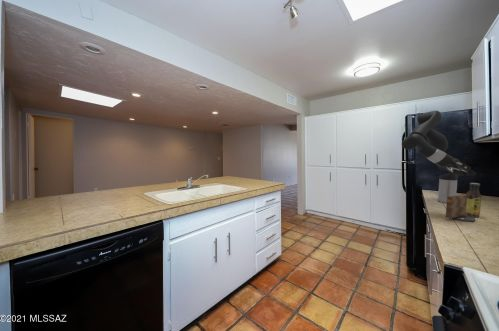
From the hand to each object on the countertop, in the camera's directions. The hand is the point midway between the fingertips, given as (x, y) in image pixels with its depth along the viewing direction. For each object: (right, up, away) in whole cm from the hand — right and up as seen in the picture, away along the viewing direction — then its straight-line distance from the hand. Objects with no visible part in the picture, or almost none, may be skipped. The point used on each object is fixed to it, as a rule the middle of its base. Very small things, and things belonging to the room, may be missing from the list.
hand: (467, 174), depth 106 cm
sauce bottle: (+10, -26, +7) cm, 28 cm away
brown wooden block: (-5, -24, +2) cm, 25 cm away
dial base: (-1, -26, +3) cm, 26 cm away
